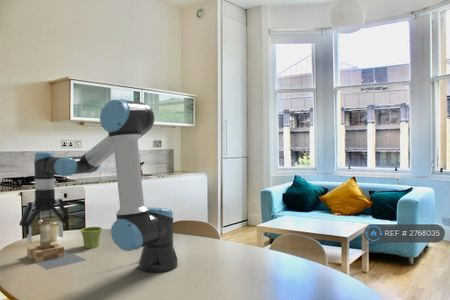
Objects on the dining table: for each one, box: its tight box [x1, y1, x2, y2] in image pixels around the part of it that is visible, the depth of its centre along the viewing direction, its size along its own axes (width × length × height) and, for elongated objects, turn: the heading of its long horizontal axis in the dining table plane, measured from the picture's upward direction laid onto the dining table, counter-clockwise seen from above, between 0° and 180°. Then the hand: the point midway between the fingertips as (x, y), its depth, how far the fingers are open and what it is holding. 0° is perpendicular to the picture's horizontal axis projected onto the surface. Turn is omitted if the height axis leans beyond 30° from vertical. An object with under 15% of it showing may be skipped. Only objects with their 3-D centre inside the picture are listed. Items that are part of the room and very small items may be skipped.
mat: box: [24, 249, 87, 270], centre depth 160 cm, size 24×16×1 cm, turn 46°
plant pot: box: [80, 226, 103, 249], centre depth 178 cm, size 9×9×9 cm
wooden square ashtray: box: [26, 241, 65, 263], centre depth 162 cm, size 11×11×4 cm
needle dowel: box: [39, 219, 52, 250], centre depth 162 cm, size 4×4×16 cm
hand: (45, 239), depth 162 cm, fingers open, 12 cm apart
